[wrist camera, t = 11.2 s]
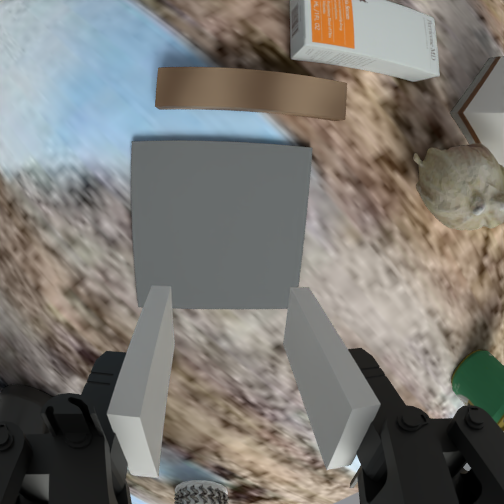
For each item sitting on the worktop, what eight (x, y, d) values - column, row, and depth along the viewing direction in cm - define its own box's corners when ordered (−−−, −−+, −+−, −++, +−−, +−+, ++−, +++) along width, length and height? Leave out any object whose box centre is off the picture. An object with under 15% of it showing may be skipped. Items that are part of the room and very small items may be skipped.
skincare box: (301, -22, 16) (434, 15, 17) (287, 0, 20) (408, 26, 21) (304, 47, 18) (441, 77, 19) (289, 62, 22) (413, 82, 23)
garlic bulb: (474, 182, 27) (543, 203, 18) (431, 239, 28) (498, 277, 19) (430, 112, 24) (508, 111, 15) (380, 172, 25) (454, 191, 16)
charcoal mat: (139, 304, 27) (138, 307, 26) (133, 141, 22) (131, 141, 22) (294, 305, 29) (295, 308, 28) (310, 147, 24) (312, 147, 24)
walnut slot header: (159, 109, 22) (155, 106, 20) (179, -43, 17) (177, -54, 15) (335, 121, 24) (345, 119, 22) (337, -26, 19) (345, -35, 17)
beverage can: (442, 379, 36) (486, 433, 25) (479, 338, 35) (529, 385, 24) (457, 394, 39) (496, 441, 27) (490, 358, 37) (533, 400, 26)
